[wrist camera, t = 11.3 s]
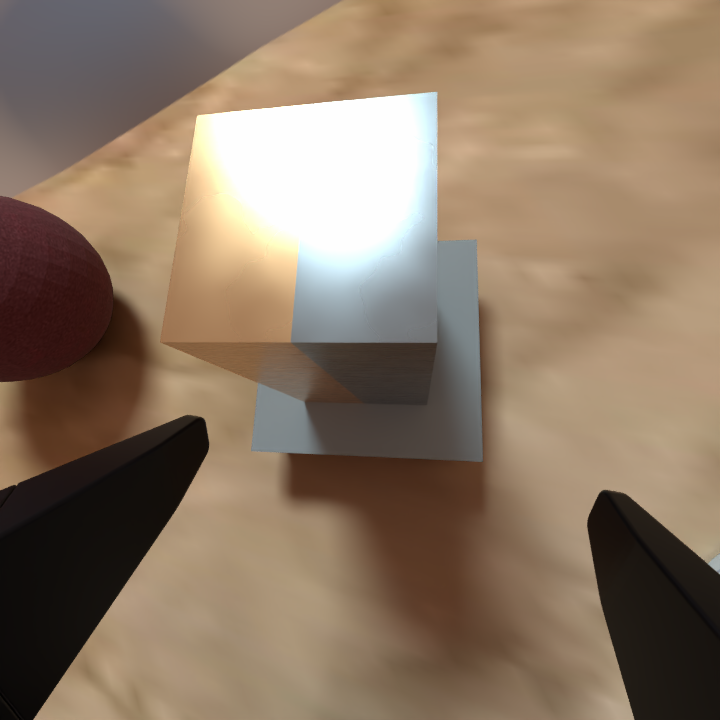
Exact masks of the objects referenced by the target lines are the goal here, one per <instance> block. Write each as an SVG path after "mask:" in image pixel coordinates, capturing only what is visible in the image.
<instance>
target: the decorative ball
mask: <svg viewBox="0 0 720 720" xmlns="http://www.w3.org/2000/svg"><path fill="white" fill-rule="evenodd" d="M112 311H113V287H112V283H111V279H110V275H109V273H108V271H107V269H106V267H105V265H104V263H103V261H102V259H101V257H100V255H99V254H98V253H97V251H96V250H95V249H94V248H93V247H92V245H91V244H90V243H89V242H88V241H87V240H86V239H85V237H84V236H83V235H82V234H81V233H79V232H78V231H77V230H75V229H74V228H73V227H72V226H70V225H69V224H68V223H66V222H65V221H63V220H62V219H60V218H59V217H57V216H55V215H53V214H51V213H49V212H47V211H46V210H44V209H42V208H39V207H36V206H34V205H31V204H28V203H25V202H22V201H18V200H15V199H12V198H9V197H3V196H0V382H13V381H22V380H30V379H35V378H39V377H43V376H46V375H49V374H52V373H55V372H58V371H60V370H62V369H64V368H67V367H69V366H71V365H72V364H74V363H75V362H76V361H78V360H79V359H81V358H82V357H84V356H85V355H86V354H88V353H89V352H90V351H91V350H92V349H93V348H94V347H95V346H96V345H97V343H98V342H99V341H100V339H101V338H102V337H103V335H104V333H105V331H106V329H107V327H108V325H109V322H110V319H111V316H112Z"/></svg>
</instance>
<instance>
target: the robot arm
mask: <svg viewBox="0 0 720 720" xmlns="http://www.w3.org/2000/svg"><path fill="white" fill-rule="evenodd" d="M208 450H209V439H208V433H207V427H206V422H205V420H204V419H203V418H202V417H198V416H193V415H185V416H183V417H180V418H178V419H175V420H173V421H170V422H168V423H165V424H163V425H161V426H158V427H156V428H153V429H151V430H148V431H146V432H143V433H141V434H138V435H136V436H133V437H131V438H129V439H126V440H124V441H121V442H119V443H116V444H114V445H111V446H109V447H106V448H104V449H101V450H99V451H96V452H94V453H92V454H89V455H87V456H84V457H82V458H79V459H77V460H74V461H72V462H69V463H67V464H64V465H62V466H60V467H57V468H55V469H52V470H50V471H47V472H45V473H42V474H40V475H37V476H35V477H32V478H30V479H28V480H25V481H23V482H20V483H19V484H18V485H17V486H16V485H12V486H10V487H8V488H5V489H3V490H0V720H33V719H34V718H35V716H36V715H37V713H38V712H39V710H40V709H41V708H42V706H43V705H44V703H45V702H46V700H47V699H48V697H49V696H50V694H51V693H52V691H53V690H54V688H55V687H56V686H57V684H58V683H59V681H60V680H61V678H62V677H63V675H64V674H65V672H66V671H67V669H68V668H69V666H70V665H71V663H72V662H73V661H74V659H75V658H76V656H77V655H78V653H79V652H80V650H81V649H82V647H83V646H84V644H85V643H86V641H87V640H88V639H89V637H90V636H91V634H92V633H93V631H94V630H95V628H96V627H97V625H98V624H99V622H100V621H101V619H102V618H103V617H104V615H105V614H106V612H107V611H108V609H109V608H110V606H111V605H112V603H113V602H114V600H115V599H116V597H117V596H118V595H119V593H120V592H121V590H122V589H123V587H124V586H125V584H126V583H127V581H128V580H129V578H130V577H131V575H132V574H133V572H134V571H135V570H136V568H137V567H138V565H139V564H140V562H141V561H142V559H143V558H144V556H145V555H146V553H147V552H148V550H149V549H150V548H151V546H152V545H153V543H154V542H155V540H156V539H157V537H158V536H159V534H160V533H161V531H162V530H163V528H164V527H165V526H166V524H167V523H168V521H169V520H170V518H171V517H172V515H173V514H174V512H175V511H176V509H177V507H178V506H179V504H180V502H181V501H182V499H183V497H184V495H185V493H186V492H187V490H188V488H189V486H190V484H191V482H192V481H193V479H194V477H195V475H196V473H197V471H198V470H199V468H200V466H201V464H202V462H203V460H204V459H205V457H206V455H207V453H208ZM587 528H588V534H589V540H590V545H591V551H592V557H593V562H594V568H595V574H596V579H597V585H598V591H599V596H600V600H601V605H602V609H603V612H604V616H605V620H606V623H607V627H608V630H609V633H610V637H611V640H612V644H613V647H614V651H615V654H616V658H617V661H618V664H619V668H620V671H621V675H622V678H623V682H624V685H625V689H626V692H627V695H628V699H629V702H630V706H631V709H632V713H633V716H634V720H720V574H719V573H718V572H717V571H716V570H714V569H713V568H712V567H711V566H710V565H709V564H707V563H706V562H705V561H704V560H703V559H701V558H700V557H699V556H698V555H697V554H696V553H694V552H693V551H692V550H691V549H690V548H689V547H687V546H686V545H685V544H684V543H683V542H682V541H680V540H679V539H678V538H677V537H676V536H675V535H673V534H672V533H671V532H670V531H669V530H668V529H666V528H665V527H664V526H663V525H662V524H661V523H659V522H658V521H657V520H656V519H655V518H654V517H652V516H651V515H650V514H649V513H648V512H647V511H645V510H644V509H643V508H642V507H641V506H640V505H638V504H637V503H636V502H635V501H634V500H632V499H631V498H630V497H629V496H628V495H626V494H624V493H621V492H615V491H610V490H603V491H601V492H600V493H599V495H598V497H597V499H596V501H595V503H594V506H593V508H592V510H591V512H590V514H589V517H588V522H587Z"/></svg>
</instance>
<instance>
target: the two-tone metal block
mask: <svg viewBox="0 0 720 720" xmlns="http://www.w3.org/2000/svg"><path fill="white" fill-rule="evenodd" d="M160 342H161V343H163V344H166V345H168V346H170V347H173V348H175V349H178V350H180V351H182V352H185V353H187V354H190V355H192V356H195V357H197V358H199V359H202V360H204V361H207V362H209V363H211V364H214V365H216V366H219V367H221V368H224V369H226V370H228V371H231V372H233V373H236V374H238V375H240V376H243V377H245V378H248V379H250V380H253V381H255V382H257V383H260V384H262V385H265V386H267V387H269V388H272V389H274V390H277V391H279V392H282V393H284V394H286V395H289V396H291V397H294V398H296V399H299V400H301V401H303V402H325V403H363V404H401V405H427V402H428V396H429V390H430V384H431V378H432V372H433V366H434V360H435V354H436V348H437V92H431V93H421V94H411V95H401V96H390V97H380V98H370V99H360V100H350V101H340V102H329V103H319V104H309V105H299V106H289V107H279V108H268V109H258V110H248V111H238V112H228V113H218V114H208V115H197V121H196V127H195V133H194V139H193V145H192V151H191V157H190V163H189V169H188V175H187V181H186V188H185V194H184V200H183V206H182V212H181V218H180V224H179V230H178V236H177V242H176V248H175V254H174V260H173V267H172V273H171V279H170V285H169V291H168V297H167V303H166V309H165V315H164V321H163V327H162V333H161V339H160Z"/></svg>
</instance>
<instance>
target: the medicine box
mask: <svg viewBox="0 0 720 720" xmlns="http://www.w3.org/2000/svg"><path fill="white" fill-rule="evenodd" d="M708 564H709V565H710V566H711V567H712V568H713V569H714V570H716V571H717V572H718V573H719V574H720V553H719V554H718V555H717V556H716V557H715V558H714V559H712V560H711V561H710V562H709V563H708Z"/></svg>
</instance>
